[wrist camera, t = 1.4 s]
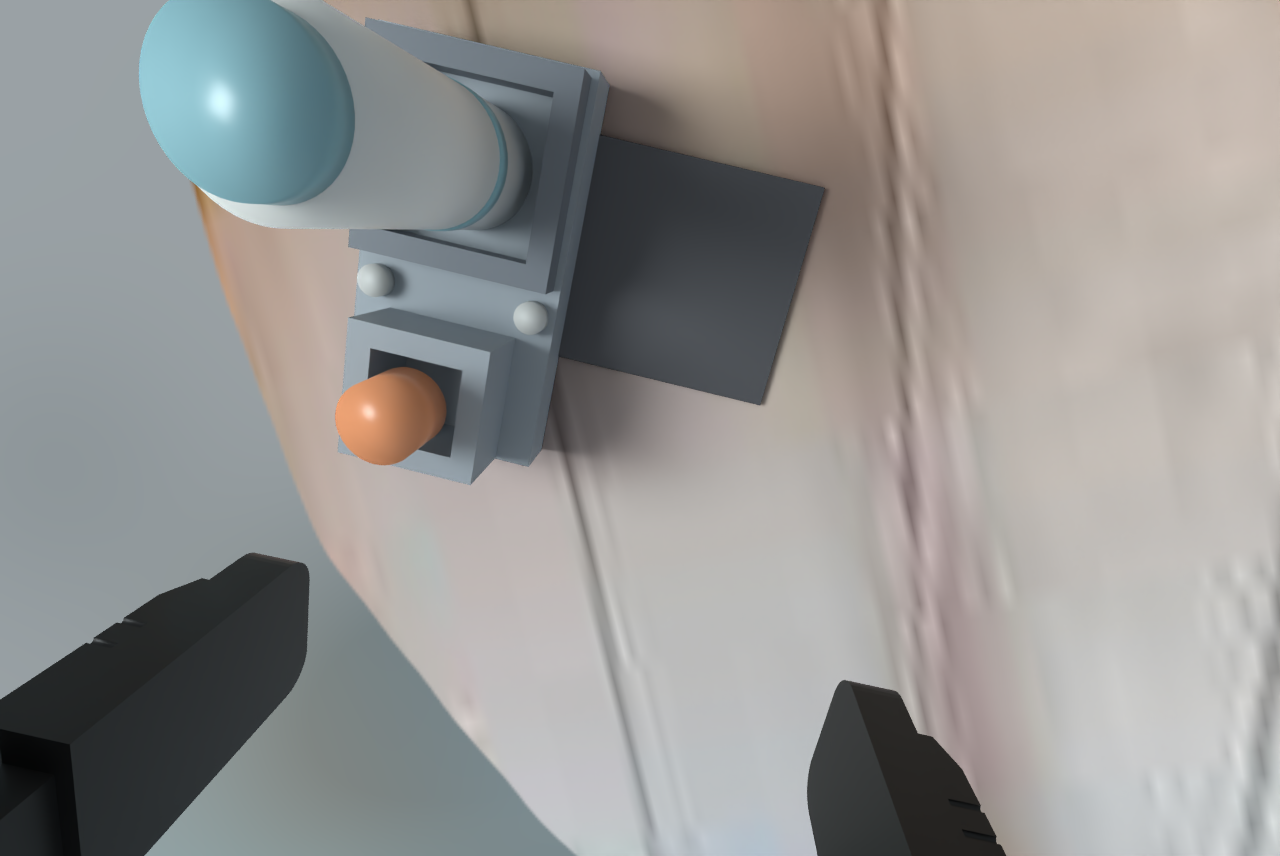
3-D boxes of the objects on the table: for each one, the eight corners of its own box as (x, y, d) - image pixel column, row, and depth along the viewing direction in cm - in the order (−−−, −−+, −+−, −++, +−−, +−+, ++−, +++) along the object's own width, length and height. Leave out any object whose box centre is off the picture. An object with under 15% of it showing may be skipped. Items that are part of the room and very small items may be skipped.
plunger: (373, 358, 25) (338, 372, 23) (451, 377, 25) (424, 393, 22) (366, 433, 26) (332, 453, 24) (441, 451, 26) (415, 474, 23)
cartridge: (420, 85, 25) (108, -78, 12) (543, 113, 25) (366, -18, 12) (407, 215, 27) (118, 200, 14) (522, 243, 27) (345, 255, 13)
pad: (600, 135, 28) (599, 134, 27) (823, 188, 27) (824, 187, 27) (559, 355, 31) (558, 356, 30) (759, 404, 30) (760, 405, 30)
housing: (406, 37, 27) (327, -14, 21) (609, 85, 27) (584, 46, 21) (371, 407, 32) (301, 445, 27) (541, 449, 32) (506, 496, 26)
